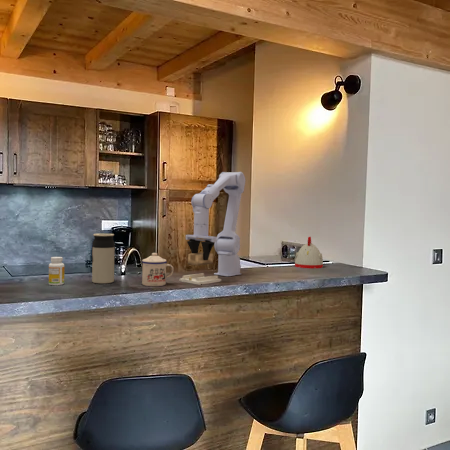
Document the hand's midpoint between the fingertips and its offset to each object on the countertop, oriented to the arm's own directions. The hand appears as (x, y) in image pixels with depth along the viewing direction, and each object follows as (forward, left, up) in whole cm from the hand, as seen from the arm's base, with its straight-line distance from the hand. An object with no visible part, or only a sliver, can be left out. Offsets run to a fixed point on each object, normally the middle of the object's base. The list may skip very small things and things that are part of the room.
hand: (200, 259), depth 192 cm
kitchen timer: (-74, +4, -9) cm, 75 cm away
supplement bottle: (+45, -29, -9) cm, 54 cm away
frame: (0, 0, -2) cm, 2 cm away
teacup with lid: (+18, -5, -9) cm, 20 cm away
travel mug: (+30, -22, -9) cm, 38 cm away
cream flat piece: (+1, +1, -8) cm, 9 cm away
